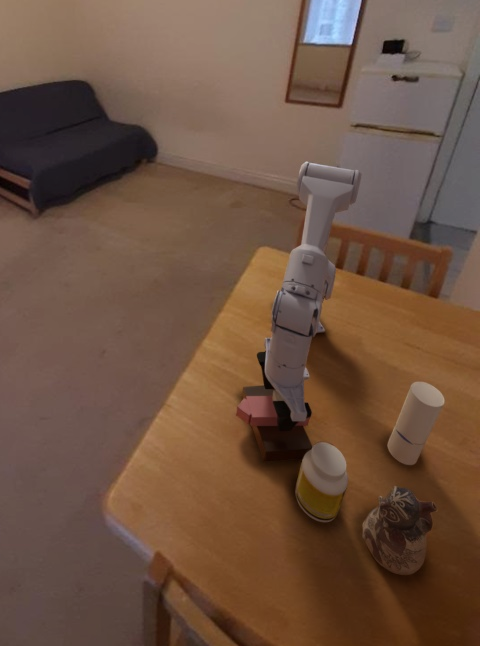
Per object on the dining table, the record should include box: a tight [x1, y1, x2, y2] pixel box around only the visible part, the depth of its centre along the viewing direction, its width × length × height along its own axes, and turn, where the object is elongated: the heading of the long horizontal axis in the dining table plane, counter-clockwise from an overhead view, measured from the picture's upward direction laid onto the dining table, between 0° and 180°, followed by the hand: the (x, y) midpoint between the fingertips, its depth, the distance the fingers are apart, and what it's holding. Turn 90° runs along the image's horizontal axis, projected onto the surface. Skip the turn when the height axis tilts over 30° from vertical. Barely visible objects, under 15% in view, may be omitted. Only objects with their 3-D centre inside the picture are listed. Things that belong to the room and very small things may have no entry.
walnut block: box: [241, 384, 313, 463], centre depth 73 cm, size 12×8×3 cm, turn 3°
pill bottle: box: [294, 441, 349, 523], centre depth 61 cm, size 6×6×11 cm
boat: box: [235, 390, 311, 427], centre depth 72 cm, size 12×4×5 cm, turn 89°
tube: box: [387, 380, 445, 466], centre depth 66 cm, size 4×4×15 cm
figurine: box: [362, 485, 438, 576], centre depth 55 cm, size 7×7×12 cm
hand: (277, 407), depth 72 cm, fingers open, 7 cm apart
